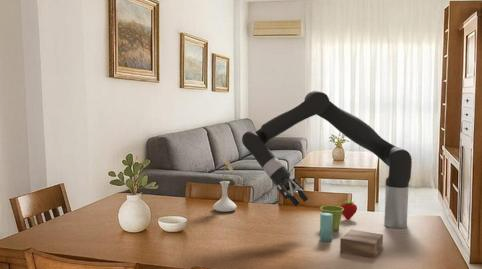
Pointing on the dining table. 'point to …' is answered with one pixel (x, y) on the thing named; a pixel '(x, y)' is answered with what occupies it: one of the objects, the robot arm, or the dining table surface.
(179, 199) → the dining table surface
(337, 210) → the plant pot
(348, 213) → the strawberry
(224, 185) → the flower in vase
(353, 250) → the walnut base
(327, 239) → the teal post
